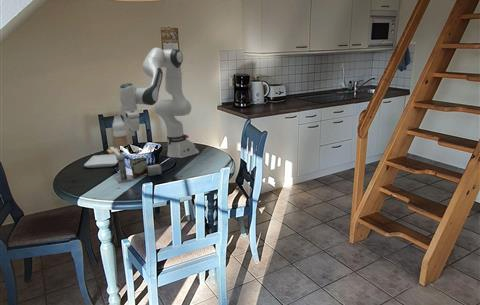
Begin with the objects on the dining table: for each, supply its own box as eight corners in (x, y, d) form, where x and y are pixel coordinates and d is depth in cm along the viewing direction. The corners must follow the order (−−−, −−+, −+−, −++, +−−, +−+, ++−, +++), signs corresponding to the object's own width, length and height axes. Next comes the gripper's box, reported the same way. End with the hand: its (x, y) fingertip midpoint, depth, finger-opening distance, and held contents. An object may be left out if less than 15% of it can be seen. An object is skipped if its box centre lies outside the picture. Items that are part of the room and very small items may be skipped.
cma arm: (127, 159, 215) (126, 155, 214) (116, 161, 212) (116, 157, 211) (116, 149, 235) (116, 146, 234) (106, 151, 232) (106, 147, 231)
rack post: (129, 176, 224) (126, 156, 221) (132, 180, 218) (129, 159, 214) (115, 179, 221) (112, 159, 217) (118, 183, 214) (115, 162, 210)
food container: (141, 171, 232) (139, 156, 229) (148, 172, 229) (146, 157, 226) (126, 177, 222) (124, 162, 219) (134, 179, 219) (131, 163, 216)
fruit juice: (115, 153, 270) (110, 115, 262) (115, 149, 279) (109, 113, 270) (129, 151, 273) (124, 114, 265) (128, 148, 282) (123, 112, 273)
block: (159, 171, 231) (158, 163, 229) (161, 173, 227) (160, 165, 225) (146, 173, 228) (145, 165, 226) (148, 176, 223) (147, 168, 222)
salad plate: (93, 159, 260) (93, 155, 258) (124, 157, 261) (123, 153, 260) (83, 170, 239) (82, 165, 238) (117, 168, 241) (116, 163, 240)
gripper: (119, 110, 220) (123, 132, 225) (128, 115, 203) (132, 140, 208) (130, 109, 223) (133, 131, 228) (140, 114, 206) (143, 138, 211)
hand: (132, 135), depth 217 cm, fingers closed
